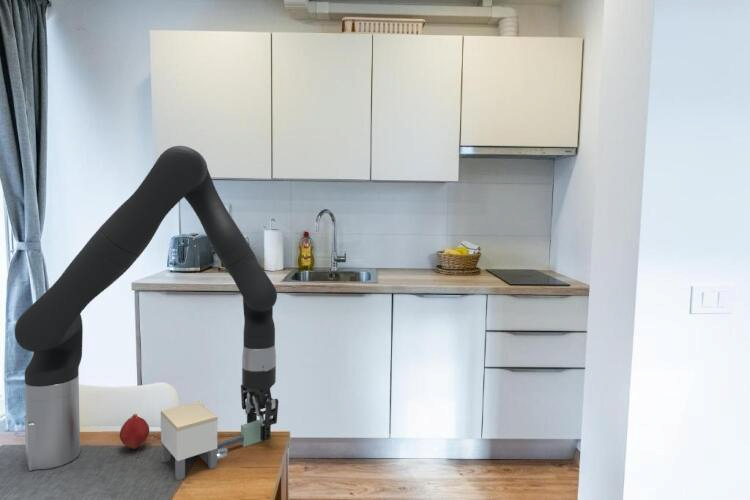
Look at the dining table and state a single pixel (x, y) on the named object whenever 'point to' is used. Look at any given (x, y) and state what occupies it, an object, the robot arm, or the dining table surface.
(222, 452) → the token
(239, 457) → the dining table surface
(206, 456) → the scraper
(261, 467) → the dining table surface
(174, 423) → the cabinet
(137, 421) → the onion
